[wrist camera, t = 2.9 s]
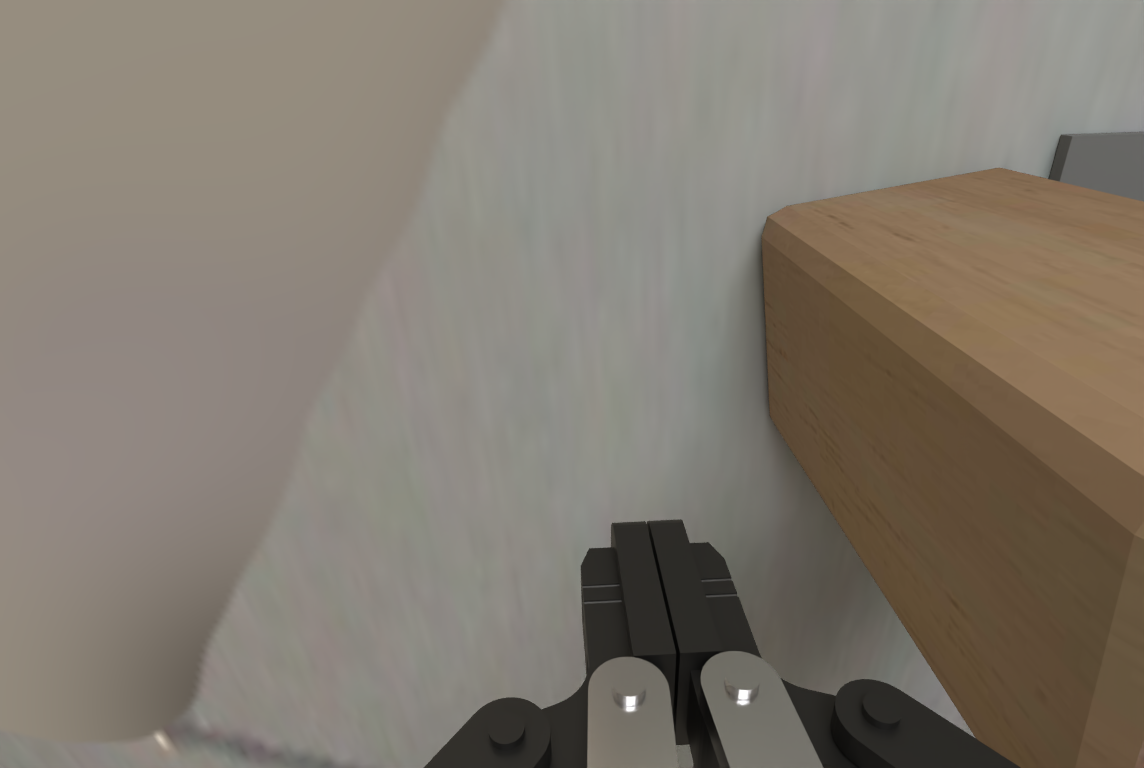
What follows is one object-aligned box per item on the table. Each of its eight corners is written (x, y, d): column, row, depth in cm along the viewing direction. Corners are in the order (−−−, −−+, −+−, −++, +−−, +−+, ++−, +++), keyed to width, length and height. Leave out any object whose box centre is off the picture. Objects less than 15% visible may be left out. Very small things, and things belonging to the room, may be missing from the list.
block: (983, 386, 30) (1632, 865, 12) (763, 423, 31) (1081, 942, 13) (1009, 159, 26) (2075, 385, 8) (753, 205, 26) (1214, 522, 8)
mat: (1290, 126, 26) (1306, 128, 25) (1167, 421, 31) (1178, 427, 31) (1061, 134, 26) (1072, 136, 25) (979, 430, 31) (987, 436, 31)
